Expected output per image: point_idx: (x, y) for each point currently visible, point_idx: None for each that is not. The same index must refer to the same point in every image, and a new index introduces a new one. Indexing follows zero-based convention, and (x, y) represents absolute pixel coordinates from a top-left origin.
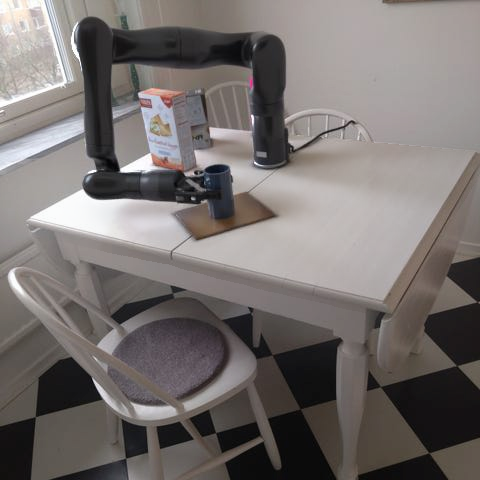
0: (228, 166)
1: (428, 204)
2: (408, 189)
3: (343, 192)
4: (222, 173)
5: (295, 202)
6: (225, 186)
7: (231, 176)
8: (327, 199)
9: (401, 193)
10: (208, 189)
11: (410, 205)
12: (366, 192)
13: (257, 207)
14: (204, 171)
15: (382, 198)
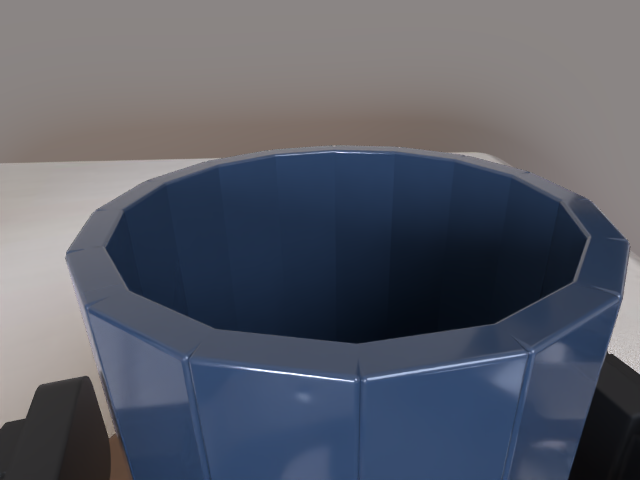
0: (202, 167)
1: (120, 167)
2: (24, 188)
3: (3, 254)
4: (427, 153)
5: (80, 330)
6: (397, 300)
7: (79, 380)
8: (63, 268)
9: (48, 190)
10: (608, 389)
11: (124, 176)
12: (22, 224)
13: None
14: (595, 273)
15: (76, 202)
